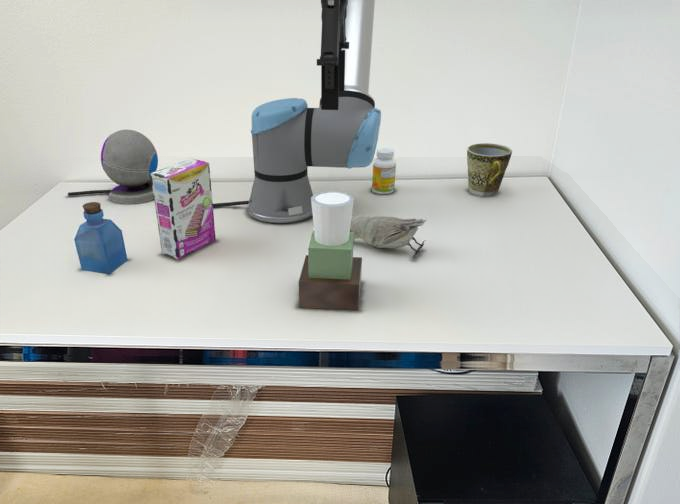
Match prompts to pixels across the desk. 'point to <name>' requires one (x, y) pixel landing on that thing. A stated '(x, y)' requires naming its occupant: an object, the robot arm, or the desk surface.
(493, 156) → the ceramic cup
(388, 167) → the supplement bottle
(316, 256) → the green block
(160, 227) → the candy bar box
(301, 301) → the walnut block
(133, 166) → the grey ball on base
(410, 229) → the decorative bird
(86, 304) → the desk surface
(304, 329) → the desk surface
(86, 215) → the perfume bottle
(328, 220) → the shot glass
